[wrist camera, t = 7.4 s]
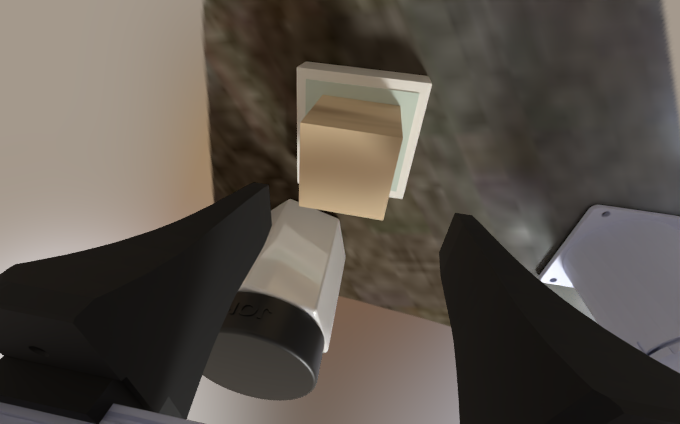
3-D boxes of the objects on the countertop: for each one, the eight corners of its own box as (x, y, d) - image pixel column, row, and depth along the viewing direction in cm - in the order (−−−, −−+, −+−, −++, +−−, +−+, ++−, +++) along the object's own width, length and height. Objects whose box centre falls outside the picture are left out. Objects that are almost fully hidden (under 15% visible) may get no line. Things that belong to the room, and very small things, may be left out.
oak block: (384, 175, 19) (383, 220, 15) (318, 164, 19) (298, 206, 15) (400, 105, 16) (402, 138, 12) (322, 94, 16) (300, 122, 12)
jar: (308, 182, 23) (246, 310, 13) (366, 248, 26) (350, 390, 16) (238, 227, 27) (152, 351, 17) (296, 279, 30) (250, 408, 20)
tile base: (427, 75, 17) (432, 84, 15) (401, 183, 21) (402, 199, 20) (306, 61, 18) (296, 67, 16) (305, 169, 22) (297, 183, 20)
